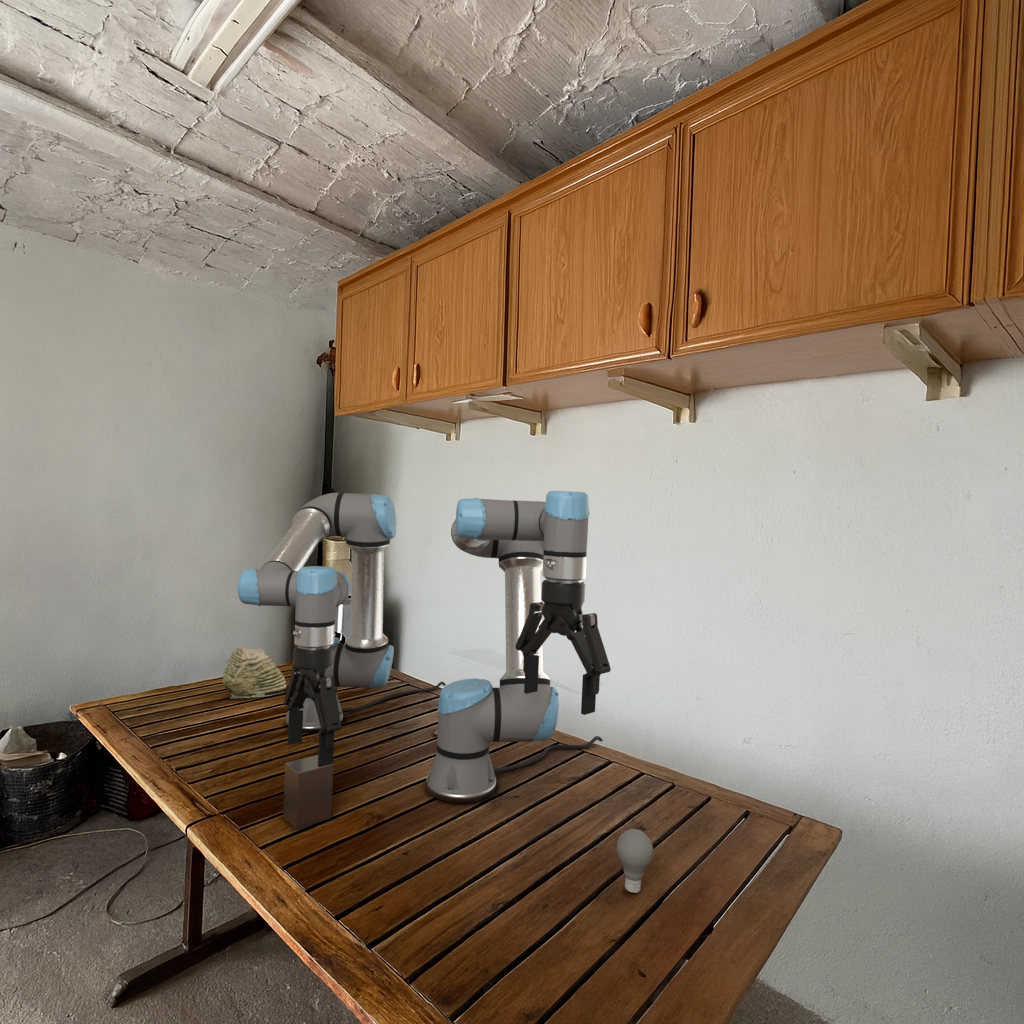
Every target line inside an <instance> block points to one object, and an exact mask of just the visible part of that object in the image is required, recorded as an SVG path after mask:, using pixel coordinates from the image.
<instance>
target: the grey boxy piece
mask: <svg viewBox="0 0 1024 1024" xmlns="http://www.w3.org/2000/svg"><path fill="white" fill-rule="evenodd" d="M333 785H334V763H333V764H331V765H327V766H323V767H318V754H316V755H312V756H311V755H310V756H308V757H307V756H306V757H304V758H299V759H296V760H292V761H289V762H288V761H287V762H285V764H284V787H283V789H284V790H283V791H284V792H283V813H282V814H283V815H282V817H283V819H284V820H285V821H286V822H287V823H288V824H289V825H290V826H291V827H293V829H294V830H296V831H297V830H301V829H303V828H307V827H311V826H313V825H316V824H318V823H321V822H325V821H327V820H330V819H332V813H333V812H332V811H333Z"/></svg>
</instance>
